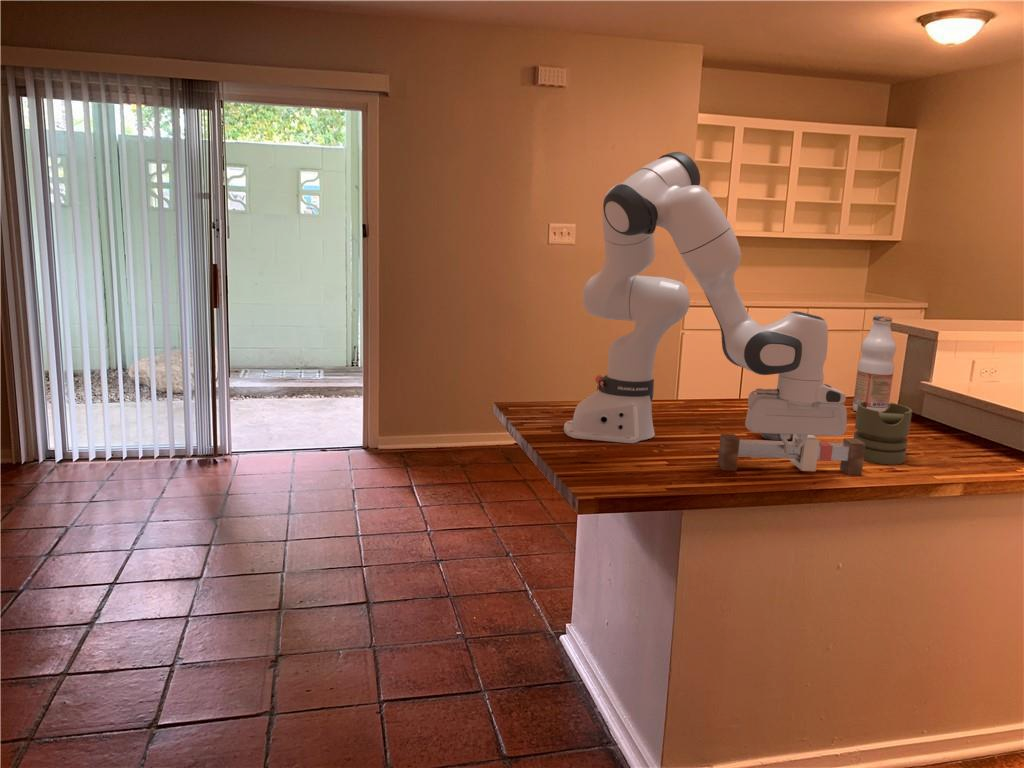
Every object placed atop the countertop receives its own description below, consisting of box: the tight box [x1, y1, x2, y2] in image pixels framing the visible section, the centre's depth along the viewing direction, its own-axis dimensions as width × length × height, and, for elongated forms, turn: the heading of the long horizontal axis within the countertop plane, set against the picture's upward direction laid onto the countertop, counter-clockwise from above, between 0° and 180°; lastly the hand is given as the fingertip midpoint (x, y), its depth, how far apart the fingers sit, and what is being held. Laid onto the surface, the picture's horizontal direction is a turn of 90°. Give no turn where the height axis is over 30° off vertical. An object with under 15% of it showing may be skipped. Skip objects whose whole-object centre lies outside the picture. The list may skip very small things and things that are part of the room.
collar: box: [789, 434, 821, 472], centre depth 168 cm, size 3×7×7 cm, turn 0°
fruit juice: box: [852, 315, 897, 413], centre depth 223 cm, size 9×9×28 cm
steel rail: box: [738, 439, 850, 462], centre depth 168 cm, size 28×3×3 cm, turn 90°
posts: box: [717, 433, 866, 476], centre depth 168 cm, size 30×4×7 cm, turn 90°
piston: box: [852, 401, 913, 466], centre depth 179 cm, size 11×12×11 cm
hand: (791, 453), depth 164 cm, fingers closed
